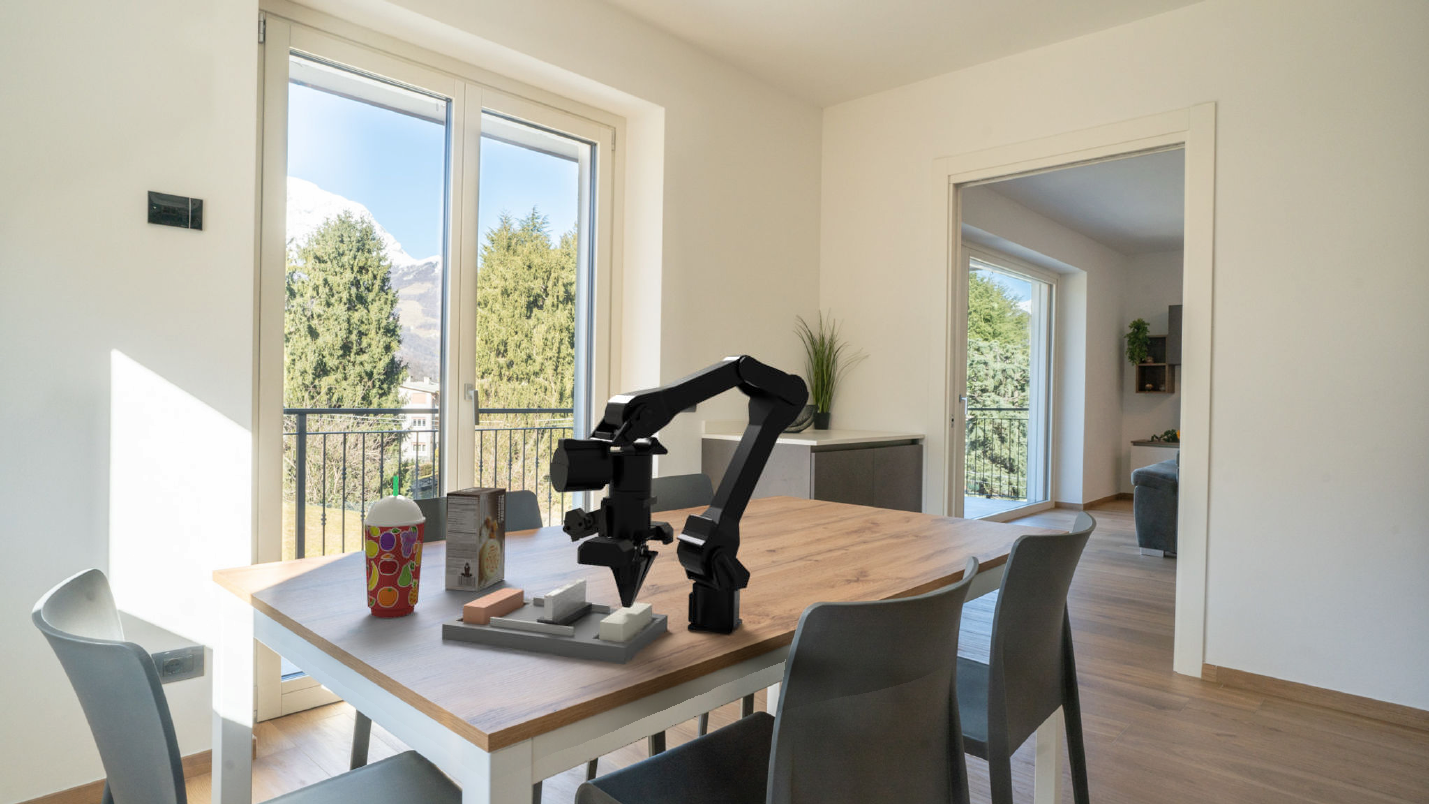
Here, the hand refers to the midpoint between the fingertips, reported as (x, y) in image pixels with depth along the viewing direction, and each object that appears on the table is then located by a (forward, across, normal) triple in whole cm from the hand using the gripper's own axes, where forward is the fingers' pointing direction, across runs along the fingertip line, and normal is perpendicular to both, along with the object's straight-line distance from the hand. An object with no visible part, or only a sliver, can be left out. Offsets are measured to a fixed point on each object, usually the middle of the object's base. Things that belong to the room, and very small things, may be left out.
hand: (627, 607), depth 100 cm
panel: (+5, 0, -10) cm, 11 cm away
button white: (+3, 0, 0) cm, 3 cm away
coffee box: (+5, -19, -36) cm, 41 cm away
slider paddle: (+2, 0, -9) cm, 9 cm away
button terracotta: (+3, 0, -20) cm, 20 cm away
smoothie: (+5, 0, -37) cm, 37 cm away
